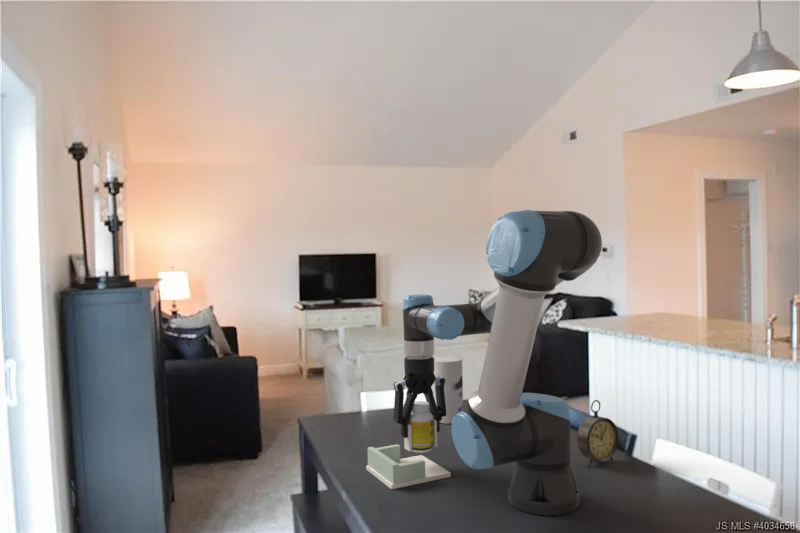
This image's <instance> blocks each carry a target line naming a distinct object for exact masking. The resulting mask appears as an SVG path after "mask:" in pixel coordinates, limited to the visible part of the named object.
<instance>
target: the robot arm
mask: <svg viewBox="0 0 800 533" xmlns="http://www.w3.org/2000/svg"><path fill="white" fill-rule="evenodd" d="M602 248H603V239H602V235H601V231H600V229H599V227H598V226H597V224H596V223H595V221H594V220H593V219H591V218H590V217H588V216H587V215H585V214H583V213H581V212H577V211H575V210H574V211H573V210H563V211H562V210H561V211H559V210H558V211H555V210H551V211H550V210H531V209H524V210H520V211H519V210H518V211H517V210H516V211H509V212H507V213H505V214H503V215H502V216H501V217H499V218H498V219H497V220H496V221H495V222H494V223H493V225H492V226H491V229H490V231H489V232H488V235H487V240H486V247H485V251H486V252H485V253H486V254H487V255H488V256H487V259H486V260H487V262H488V265H489V267H490V269H492V271H493V278H494V280H496V283H498V285H499V286H497V287H496V288H495V289H494V290H492V291H491V292H490V293H489V294H488V295H486V296H485V297H483V298H482V299H481V300H480V301H478V302H474V303H461V304H459V303H458V304H446V305H438V304H437V305H436V304H435V303H434V299H433V297H432V295H431V294H425V293H424V294H419V293H418V294H409V295H408V294H407V295H406V296H405V297H404V298H403V305H402V306H403V307H402V316H403V318H402V321H403V322H402V323H403V355H404V356H405V357H404V359H403V360H404V363H403V365H404V366H403V368H404V378H403V379H402V380H401V381H398V382H397V381H394V383H393V388H394V404H393V405H394V407H393V408H394V409H393V421H394V422H395V423H397V424H399V425H400V435H401V437H403V439H404V440H403V442H404V443H403V444H404V450H407V451H408V452H413V451H412V425H410V424H409V420H410V416H411V413H412V409H413V406H414V402H415V401H416V399H417V398H418V395H421V394H423V395H424V398H425V402H428V403H429V405H430V408H429V412H430V413H431V414H432V415H433V448H436V447H438V433H439V432H440V424H441V423H440V422H439V421H441V420H442V417H443V416H444V417H445V416H446V404H445V394H444V384H445V379H444V378H442V377H435V375H434V358H435V357H433V356H434V355H435V341H434V340H435V339H434V338H436V339H439V340H447V341H448V340H449V341H451V340H455V339H456V338H458V337H461V336H462V337H463V336H470V335H480V334H481V335H483V334H489V337H488V342H487V346H486V352H485V356H484V361H483V366H482V371H481V375H480V380H479V386H478V390H477V391H474V392H473V393H471V394H470V396H469V397H468V401H467V406H466V410H465V411H464V410H463V411H461V412H459V413H458V414H456V415H455V416H454V418H453V420H452V423H451V437H452V440H453V444H454V446H455V450H456V452H457V453H458V456H459V457H460V459H461V460H462V462H463V463H464V464H465V465H466V466H468V467H469V468H471V469H473V470H480V469H482V470H483V469H490V468H493V467H498V466H502V465H506V464H509V463H510V464H511V463H514V462H515V466H514V470H513V473H512V477H511V479H510V480H511V481H510V483H509V486H508V488H507V496H508V498H507V499H508V502H509V504H510V505H511V506H512V507H514V508H516V509H517V510H519V511H522V512H525V513H530V514H534V515H539V516H558V515H565V514H569V513H572V512H575V511H576V510H577V509H578V508H579V506H580V492H579V489H578V487H577V483H576V480H575V477H574V474H573V471H572V468H571V417H570V406H569V404H568V402H567V401H566V400H565V399H563V398H561V397H558V396H554V395H550V394H546V393H545V394H543V393H537V392H536V393H535V392H523V391H524V387H525V381H526V377H527V373H528V369H529V364H530V360H531V357H532V352H533V347H534V344H535V339H536V334H537V330H538V325H539V321H540V318H541V315H542V314H541V313H542V309H543V304H544V299H545V296H546V295H548V294H550V293H552V292H553V291H554V290H555V289H556V286H558V285H560V284H561V283H563V282H564V281H565V282H571V281H575V279H577V278H579V277H580V276H582V275H583V274H585V273H586V272H588V270H590V269H591V268H592V267H593V266H594V265H595V264H596V263H597V261H598V259H599V257H600V256H601V253H602ZM433 383H435V391H436V401H437V405H436V402H435V399H434V396H433V391H432V385H433ZM405 386H406V388H407V389H405ZM404 390H406V394H405V392H404ZM404 394H405V395H406V397H405V395H404ZM404 397H405V401H404Z"/></svg>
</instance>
